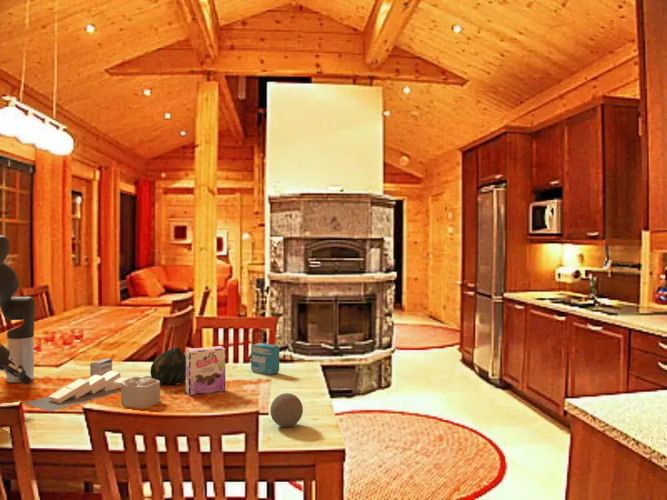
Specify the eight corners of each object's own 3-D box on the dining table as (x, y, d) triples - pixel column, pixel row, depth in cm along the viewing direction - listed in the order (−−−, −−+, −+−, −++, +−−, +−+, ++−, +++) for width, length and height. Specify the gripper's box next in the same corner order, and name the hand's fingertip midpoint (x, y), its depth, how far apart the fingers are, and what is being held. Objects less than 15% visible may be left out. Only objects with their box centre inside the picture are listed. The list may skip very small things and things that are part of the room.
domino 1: (58, 398, 179) (88, 380, 189) (48, 396, 182) (79, 378, 192) (59, 403, 180) (90, 385, 190) (50, 400, 183) (80, 382, 193)
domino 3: (91, 389, 190) (119, 372, 200) (82, 387, 193) (110, 370, 203) (93, 394, 191) (120, 376, 200) (84, 391, 194) (111, 374, 203)
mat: (23, 404, 180) (23, 402, 180) (95, 386, 203) (95, 384, 203) (49, 412, 172) (50, 411, 172) (122, 392, 195) (121, 391, 195)
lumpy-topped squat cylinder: (144, 409, 177) (144, 383, 177) (113, 404, 181) (113, 379, 181) (163, 400, 187) (164, 376, 187) (133, 396, 191) (133, 372, 191)
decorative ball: (264, 429, 160) (264, 396, 160) (279, 418, 169) (279, 387, 169) (294, 433, 156) (294, 400, 156) (307, 423, 166) (308, 391, 165)
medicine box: (100, 385, 204) (100, 363, 204) (89, 384, 205) (89, 362, 205) (112, 380, 212) (112, 358, 212) (102, 379, 213) (102, 358, 213)
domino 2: (75, 394, 185) (104, 376, 194) (65, 391, 188) (95, 374, 197) (76, 398, 185) (105, 381, 195) (67, 396, 188) (96, 378, 198)
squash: (141, 368, 210) (155, 343, 204) (174, 363, 221) (189, 340, 215) (153, 397, 203) (168, 373, 196) (187, 391, 214) (202, 367, 207)
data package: (250, 371, 228) (251, 344, 228) (257, 369, 232) (257, 342, 232) (273, 375, 223) (273, 347, 222) (279, 373, 226) (279, 345, 226)
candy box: (188, 396, 192) (188, 351, 192) (185, 392, 197) (185, 348, 197) (225, 391, 198) (226, 348, 198) (221, 387, 204) (221, 345, 203)
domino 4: (105, 386, 195) (133, 379, 205) (96, 384, 198) (123, 377, 208) (105, 391, 195) (132, 384, 205) (96, 389, 198) (123, 381, 208)
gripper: (8, 344, 162) (48, 375, 172) (-13, 339, 169) (26, 369, 179) (-10, 364, 157) (31, 395, 168) (-32, 358, 164) (9, 388, 175)
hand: (28, 382), depth 174 cm, fingers closed
